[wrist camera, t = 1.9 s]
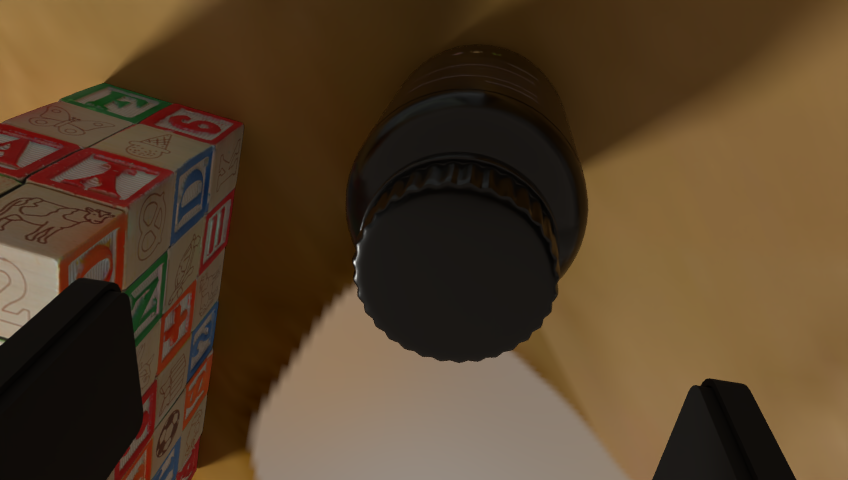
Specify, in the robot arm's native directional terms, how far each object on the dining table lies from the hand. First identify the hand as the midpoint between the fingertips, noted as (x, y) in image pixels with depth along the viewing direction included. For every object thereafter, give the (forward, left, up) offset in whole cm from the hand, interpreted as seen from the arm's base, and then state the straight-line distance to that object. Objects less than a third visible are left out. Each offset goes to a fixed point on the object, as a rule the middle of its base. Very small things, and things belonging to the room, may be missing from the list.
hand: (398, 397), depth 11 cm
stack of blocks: (+13, +12, -17) cm, 24 cm away
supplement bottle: (-1, 0, -16) cm, 16 cm away
